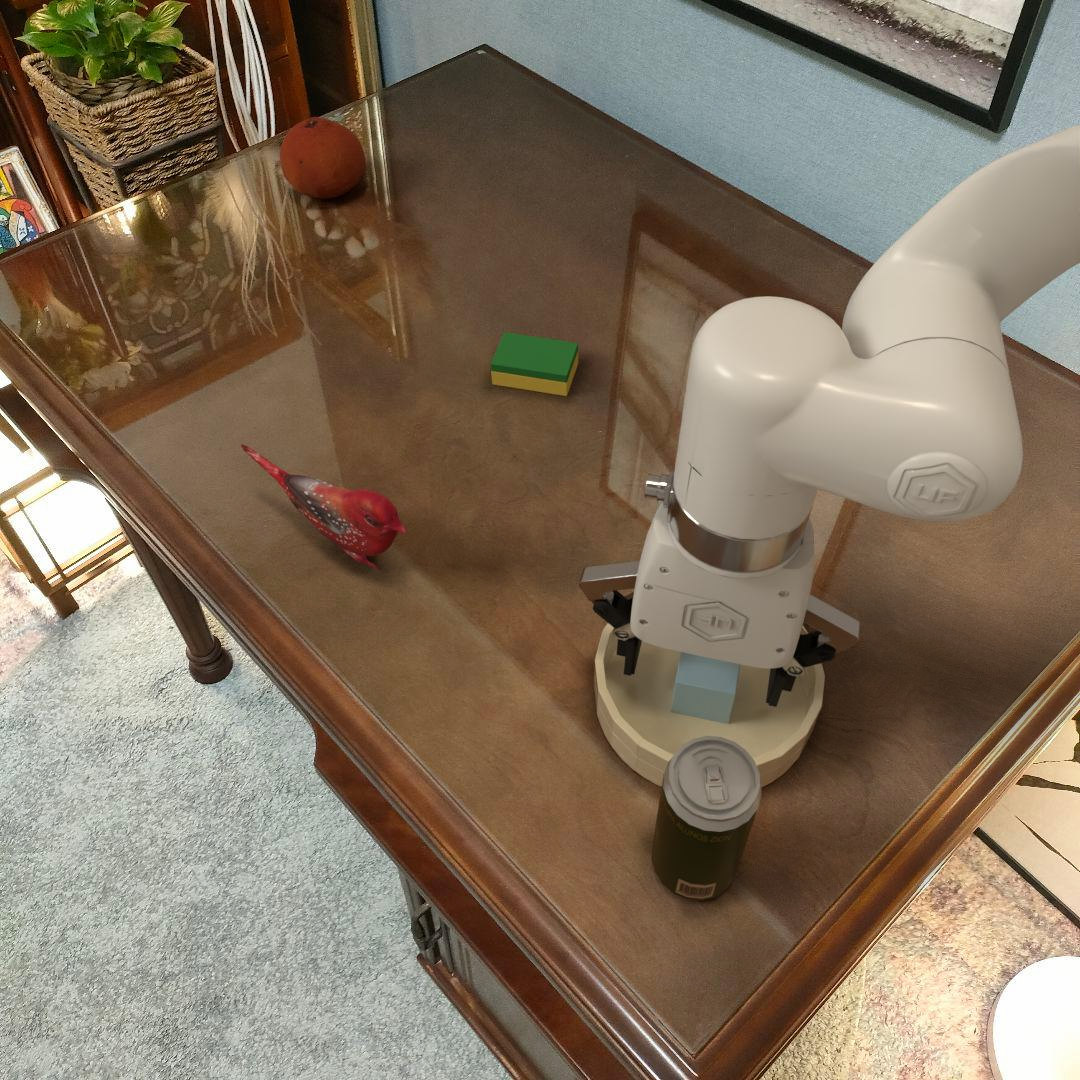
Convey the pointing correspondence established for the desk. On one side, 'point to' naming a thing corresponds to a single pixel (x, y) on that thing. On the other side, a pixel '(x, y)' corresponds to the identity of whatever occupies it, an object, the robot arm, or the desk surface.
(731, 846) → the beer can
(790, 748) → the bowl
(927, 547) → the desk surface
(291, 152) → the fruit
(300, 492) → the decorative bird figurine
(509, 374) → the scrubber
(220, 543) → the desk surface
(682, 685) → the ice cube
